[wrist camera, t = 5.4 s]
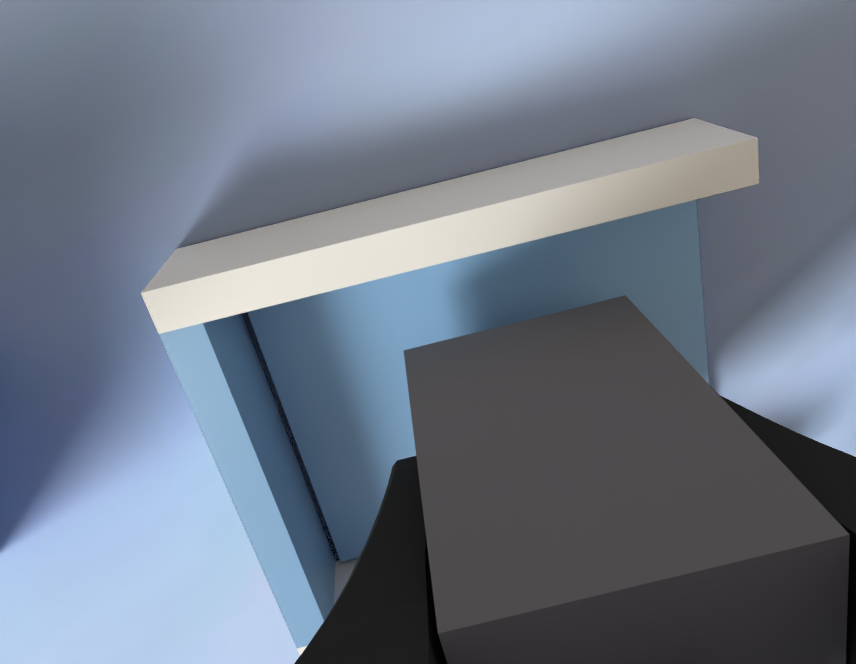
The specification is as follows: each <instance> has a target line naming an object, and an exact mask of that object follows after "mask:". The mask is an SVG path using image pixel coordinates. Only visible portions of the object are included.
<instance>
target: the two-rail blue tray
mask: <svg viewBox="0 0 856 664" xmlns="http://www.w3.org/2000/svg"><path fill="white" fill-rule="evenodd" d="M756 184H759V160H758V138H757V137H754V136H751V135H747V134H744V133H741V132H738V131H734V130H731V129H728V128H725V127H722V126H718V125H715V124H712V123H709V122H705V121H702V120H699V119H696V118H692V119H688V120H684V121H680V122H676V123H672V124H669V125H665V126H661V127H657V128H653V129H649V130H645V131H641V132H637V133H633V134H629V135H625V136H621V137H617V138H613V139H609V140H605V141H601V142H597V143H593V144H589V145H585V146H581V147H577V148H574V149H570V150H566V151H562V152H558V153H554V154H550V155H546V156H542V157H538V158H534V159H530V160H526V161H522V162H518V163H514V164H510V165H506V166H502V167H498V168H494V169H490V170H486V171H482V172H479V173H475V174H471V175H467V176H463V177H459V178H455V179H451V180H447V181H443V182H439V183H435V184H431V185H427V186H423V187H419V188H415V189H411V190H407V191H403V192H399V193H395V194H391V195H387V196H383V197H380V198H376V199H372V200H368V201H364V202H360V203H356V204H352V205H348V206H344V207H340V208H336V209H332V210H328V211H324V212H320V213H316V214H312V215H308V216H304V217H300V218H296V219H292V220H288V221H285V222H281V223H277V224H273V225H269V226H265V227H261V228H257V229H253V230H249V231H245V232H241V233H237V234H233V235H229V236H225V237H221V238H217V239H213V240H209V241H205V242H201V243H197V244H193V245H190V246H186V247H182V248H178V249H175V251H174V252H173V253H172V254H171V256H170V257H169V258H168V259H167V261H166V262H165V263H164V264H163V266H162V267H161V268H160V269H159V271H158V272H157V273H156V274H155V276H154V277H153V278H152V279H151V281H150V282H149V283H148V284H147V286H146V287H145V288H144V290H143V291H142V292H141V295H142V297H143V299H144V302H145V304H146V306H147V309H148V311H149V313H150V315H151V318H152V320H153V322H154V324H155V327H156V329H157V331H158V334H159V336H160V338H161V340H162V343H163V345H164V347H165V349H166V352H167V354H168V356H169V359H170V361H171V363H172V365H173V368H174V370H175V372H176V374H177V377H178V379H179V381H180V383H181V386H182V388H183V390H184V393H185V395H186V397H187V399H188V402H189V404H190V406H191V408H192V411H193V413H194V415H195V418H196V420H197V422H198V424H199V427H200V429H201V431H202V433H203V436H204V438H205V440H206V443H207V445H208V447H209V449H210V452H211V454H212V456H213V458H214V461H215V463H216V465H217V468H218V470H219V472H220V474H221V477H222V479H223V481H224V483H225V486H226V488H227V490H228V493H229V495H230V497H231V499H232V502H233V504H234V506H235V508H236V511H237V513H238V515H239V518H240V520H241V522H242V524H243V527H244V529H245V531H246V533H247V536H248V538H249V540H250V543H251V545H252V547H253V549H254V552H255V554H256V556H257V558H258V561H259V563H260V565H261V568H262V570H263V572H264V574H265V577H266V579H267V581H268V583H269V586H270V588H271V590H272V593H273V595H274V597H275V599H276V602H277V604H278V606H279V608H280V611H281V613H282V615H283V618H284V620H285V622H286V624H287V627H288V629H289V631H290V633H291V636H292V638H293V640H294V642H295V645H296V647H297V649H298V652H299V654H300V655H301V654H302V653H303V651H304V650H305V648H306V647H307V646H308V644H309V643H310V641H311V640H312V638H313V637H314V635H315V634H316V632H317V631H318V629H319V628H320V626H321V625H322V624H323V622H324V620H325V619H326V617H327V616H328V614H329V612H330V611H331V609H332V607H333V606H334V604H335V602H336V601H337V599H338V597H339V595H340V594H341V592H342V590H343V588H344V586H345V585H346V583H347V581H348V579H349V577H350V575H351V573H352V571H353V569H354V567H355V565H356V563H357V561H358V559H359V556H360V554H361V552H362V550H363V548H364V546H365V544H366V542H367V539H368V537H369V534H370V532H371V529H372V527H373V524H374V522H375V519H376V517H377V514H378V512H379V509H380V506H381V503H382V500H383V498H384V495H385V492H386V488H387V485H388V482H389V478H390V474H391V470H392V467H393V465H394V464H395V462H396V461H397V460H400V459H404V458H409V457H413V456H416V449H415V441H414V433H413V425H412V417H411V408H410V400H409V392H408V384H407V376H406V367H405V359H404V351H403V350H407V349H411V348H415V347H419V346H423V345H427V344H431V343H435V342H439V341H443V340H447V339H451V338H455V337H459V336H463V335H467V334H471V333H475V332H479V331H484V330H488V329H492V328H496V327H500V326H504V325H508V324H512V323H516V322H520V321H524V320H528V319H532V318H536V317H540V316H544V315H548V314H552V313H556V312H560V311H564V310H568V309H572V308H576V307H580V306H584V305H588V304H592V303H596V302H600V301H604V300H608V299H612V298H616V297H620V296H624V295H626V296H627V297H628V298H629V300H630V301H631V302H632V303H633V304H634V305H635V306H636V307H637V308H638V309H639V310H640V311H641V312H642V313H643V314H644V316H645V317H646V318H647V319H648V320H649V321H650V322H651V323H652V324H653V325H654V326H655V327H656V328H657V329H658V330H659V332H660V333H661V334H662V335H663V336H664V337H665V338H666V339H667V340H668V341H669V342H670V343H671V344H672V345H673V346H674V348H675V349H676V350H677V351H678V352H679V353H680V354H681V355H682V356H683V357H684V358H685V359H686V360H687V361H688V362H689V364H690V365H691V366H692V367H693V368H694V369H695V370H696V371H697V372H698V373H699V374H700V375H701V376H702V377H703V378H704V380H705V381H706V382H707V383H708V384H709V374H708V360H707V346H706V331H705V317H704V303H703V289H702V274H701V260H700V246H699V232H698V217H697V203H696V199H700V198H704V197H708V196H712V195H716V194H720V193H724V192H728V191H732V190H736V189H740V188H744V187H748V186H752V185H756ZM245 312H247V313H248V316H249V318H250V321H251V324H252V326H253V329H254V332H255V334H256V337H257V340H258V342H259V345H260V348H261V350H262V353H263V356H264V358H265V361H266V364H267V366H268V369H269V372H270V374H271V377H272V380H273V382H274V385H275V388H276V390H277V393H278V396H279V398H280V401H281V404H282V406H283V409H284V412H285V415H286V417H287V420H288V423H289V425H290V428H291V431H292V433H293V436H294V439H295V441H296V444H297V447H298V449H299V452H300V455H301V457H302V460H303V463H304V465H305V468H306V471H307V473H308V476H309V479H310V481H311V484H312V487H313V489H314V492H315V495H316V497H317V500H318V503H319V505H320V508H321V511H322V513H323V516H324V519H325V521H326V524H327V527H328V529H329V532H330V535H331V537H332V540H333V543H334V545H335V548H336V551H337V553H338V556H339V559H340V560H338V561H335V558H334V555H333V553H332V550H331V548H330V545H329V542H328V540H327V537H326V534H325V532H324V529H323V526H322V524H321V521H320V519H319V516H318V513H317V511H316V508H315V505H314V503H313V500H312V497H311V495H310V492H309V489H308V487H307V484H306V482H305V479H304V476H303V474H302V471H301V468H300V466H299V463H298V460H297V458H296V455H295V452H294V450H293V447H292V445H291V442H290V439H289V437H288V434H287V431H286V429H285V426H284V423H283V421H282V418H281V416H280V413H279V410H278V408H277V405H276V402H275V400H274V397H273V394H272V392H271V389H270V386H269V384H268V381H267V379H266V376H265V373H264V371H263V368H262V365H261V363H260V360H259V357H258V355H257V352H256V350H255V347H254V344H253V342H252V339H251V336H250V334H249V331H248V328H247V326H246V323H245V320H244V318H243V315H242V313H245Z"/></svg>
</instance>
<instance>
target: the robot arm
mask: <svg viewBox="0 0 856 664" xmlns="http://www.w3.org/2000/svg"><path fill="white" fill-rule="evenodd" d="M719 396H720V395H719ZM720 397H721V398H722V399H723V400H724V401H725V402H726V403H727V404H728V405H729V406H730V407H731V408H732V409H733V410H734V412H735V413H736V414H737V415H738V416H739V417H740V418H741V419H742V420H743V421H744V422H745V423H746V424H747V425H748V426H749V428H750V429H751V430H752V431H753V432H754V433H755V434H756V435H757V436H758V437H759V438H760V439H761V440H762V441H763V442H764V444H765V445H766V446H767V447H768V448H769V449H770V450H771V451H772V452H773V453H774V454H775V455H776V456H777V457H778V459H779V460H780V461H781V462H782V463H783V464H784V465H785V466H786V467H787V468H788V469H789V470H790V471H791V472H792V473H793V475H794V476H795V477H796V478H797V479H798V480H799V481H800V482H801V483H802V484H803V485H804V486H805V487H806V488H807V489H808V491H809V492H810V493H811V494H812V495H813V496H814V497H815V498H816V499H817V500H818V501H819V502H820V503H821V504H822V505H823V507H824V508H825V509H826V510H827V511H828V512H829V513H830V514H831V515H832V516H833V517H834V518H835V519H836V520H837V521H838V523H839V524H840V525H841V526H842V527H843V528H844V529H845V530H846V531H847V532H848V533H849V534H850V542H849V574H848V605H847V637H846V664H856V457H854V456H852V455H849V454H847V453H844V452H842V451H839V450H837V449H834V448H832V447H829V446H827V445H824V444H822V443H819V442H817V441H815V440H813V439H810V438H808V437H806V436H803V435H801V434H799V433H797V432H794V431H792V430H790V429H788V428H786V427H783V426H781V425H779V424H777V423H775V422H773V421H771V420H769V419H767V418H764V417H762V416H760V415H758V414H756V413H754V412H752V411H750V410H748V409H746V408H744V407H742V406H740V405H738V404H736V403H734V402H732V401H730V400H728V399H726V398H724V397H722V396H720ZM294 664H447V661H446V657H445V654H444V651H443V648H442V645H441V642H440V638H439V635H438V630H437V621H436V613H435V605H434V597H433V589H432V580H431V572H430V564H429V556H428V548H427V540H426V531H425V523H424V515H423V507H422V499H421V490H420V482H419V474H418V466H417V458H416V456H413V457H409V458H404V459H400V460H397V461H396V462H395V464H394V465H393V467H392V470H391V474H390V478H389V482H388V485H387V488H386V492H385V495H384V498H383V500H382V503H381V506H380V509H379V512H378V514H377V517H376V519H375V522H374V524H373V527H372V529H371V532H370V534H369V537H368V539H367V542H366V544H365V546H364V548H363V550H362V552H361V554H360V556H359V559H358V561H357V563H356V565H355V567H354V569H353V571H352V573H351V575H350V577H349V579H348V581H347V583H346V585H345V586H344V588H343V590H342V592H341V594H340V595H339V597H338V599H337V601H336V602H335V604H334V606H333V607H332V609H331V611H330V612H329V614H328V616H327V617H326V619H325V620H324V622H323V624H322V625H321V626H320V628H319V629H318V631H317V632H316V634H315V635H314V637H313V638H312V640H311V641H310V643H309V644H308V646H307V647H306V648H305V650H304V651H303V653H302V654H301V655H300V657H299V658H298V659H297V661H296V662H295V663H294Z"/></svg>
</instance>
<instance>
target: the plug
mask: <svg viewBox="0 0 856 664" xmlns="http://www.w3.org/2000/svg"><path fill="white" fill-rule="evenodd" d="M403 351H404V359H405V367H406V376H407V384H408V392H409V400H410V408H411V417H412V425H413V433H414V441H415V449H416V458H417V466H418V474H419V482H420V490H421V499H422V507H423V515H424V523H425V531H426V540H427V548H428V556H429V564H430V572H431V580H432V589H433V597H434V605H435V613H436V621H437V630H438V635H439V638H440V642H441V645H442V648H443V651H444V654H445V657H446V661H447V664H846V637H847V605H848V574H849V542H850V534H849V533H848V532H847V531H846V530H845V529H844V528H843V527H842V526H841V525H840V524H839V523H838V521H837V520H836V519H835V518H834V517H833V516H832V515H831V514H830V513H829V512H828V511H827V510H826V509H825V508H824V507H823V505H822V504H821V503H820V502H819V501H818V500H817V499H816V498H815V497H814V496H813V495H812V494H811V493H810V492H809V491H808V489H807V488H806V487H805V486H804V485H803V484H802V483H801V482H800V481H799V480H798V479H797V478H796V477H795V476H794V475H793V473H792V472H791V471H790V470H789V469H788V468H787V467H786V466H785V465H784V464H783V463H782V462H781V461H780V460H779V459H778V457H777V456H776V455H775V454H774V453H773V452H772V451H771V450H770V449H769V448H768V447H767V446H766V445H765V444H764V442H763V441H762V440H761V439H760V438H759V437H758V436H757V435H756V434H755V433H754V432H753V431H752V430H751V429H750V428H749V426H748V425H747V424H746V423H745V422H744V421H743V420H742V419H741V418H740V417H739V416H738V415H737V414H736V413H735V412H734V410H733V409H732V408H731V407H730V406H729V405H728V404H727V403H726V402H725V401H724V400H723V399H722V398H721V397H720V396H719V394H718V393H717V392H716V391H715V390H714V389H713V388H712V387H711V386H710V385H709V384H708V383H707V382H706V381H705V380H704V378H703V377H702V376H701V375H700V374H699V373H698V372H697V371H696V370H695V369H694V368H693V367H692V366H691V365H690V364H689V362H688V361H687V360H686V359H685V358H684V357H683V356H682V355H681V354H680V353H679V352H678V351H677V350H676V349H675V348H674V346H673V345H672V344H671V343H670V342H669V341H668V340H667V339H666V338H665V337H664V336H663V335H662V334H661V333H660V332H659V330H658V329H657V328H656V327H655V326H654V325H653V324H652V323H651V322H650V321H649V320H648V319H647V318H646V317H645V316H644V314H643V313H642V312H641V311H640V310H639V309H638V308H637V307H636V306H635V305H634V304H633V303H632V302H631V301H630V300H629V298H628V297H627V296H626V295H624V296H620V297H616V298H612V299H608V300H604V301H600V302H596V303H592V304H588V305H584V306H580V307H576V308H572V309H568V310H564V311H560V312H556V313H552V314H548V315H544V316H540V317H536V318H532V319H528V320H524V321H520V322H516V323H512V324H508V325H504V326H500V327H496V328H492V329H488V330H484V331H479V332H475V333H471V334H467V335H463V336H459V337H455V338H451V339H447V340H443V341H439V342H435V343H431V344H427V345H423V346H419V347H415V348H411V349H407V350H403Z"/></svg>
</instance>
